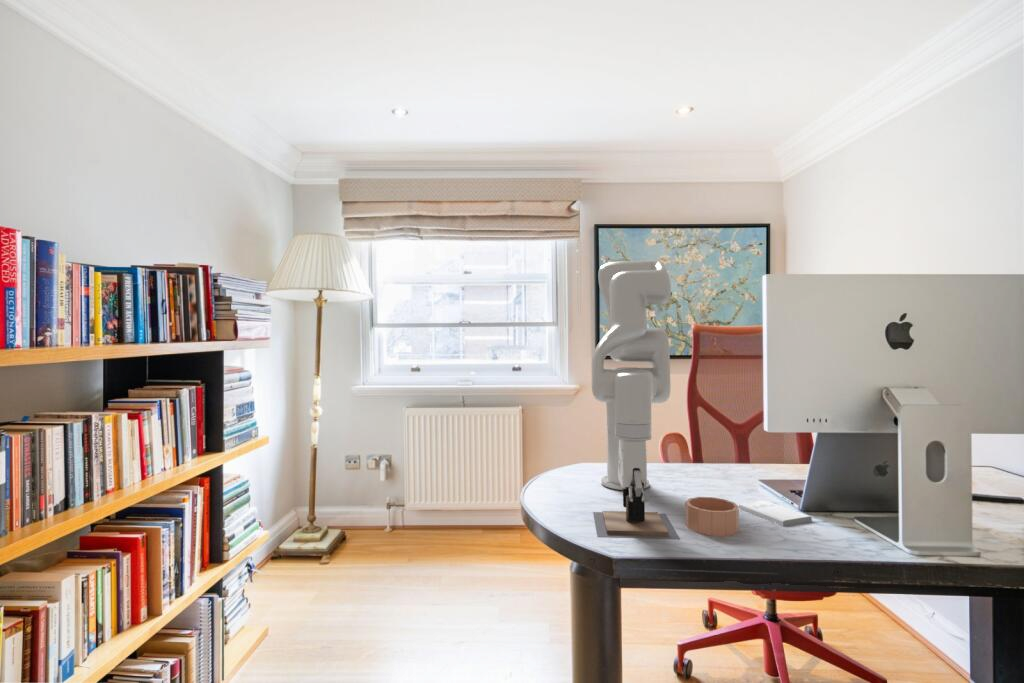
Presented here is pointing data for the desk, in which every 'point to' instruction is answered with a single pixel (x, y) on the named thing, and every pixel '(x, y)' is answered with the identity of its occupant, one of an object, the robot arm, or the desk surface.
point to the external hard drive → (775, 512)
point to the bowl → (712, 516)
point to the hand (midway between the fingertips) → (633, 513)
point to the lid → (633, 523)
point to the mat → (602, 533)
